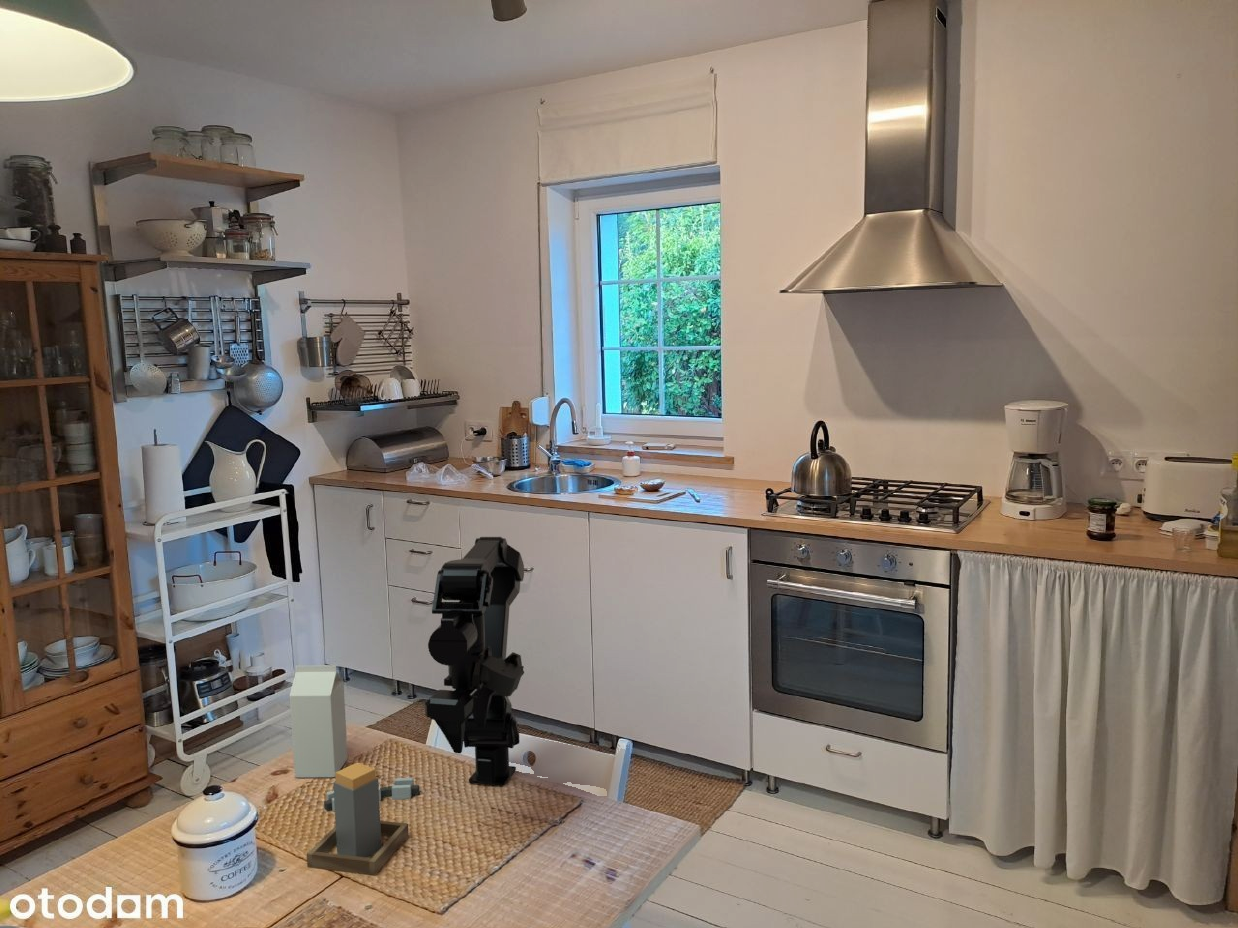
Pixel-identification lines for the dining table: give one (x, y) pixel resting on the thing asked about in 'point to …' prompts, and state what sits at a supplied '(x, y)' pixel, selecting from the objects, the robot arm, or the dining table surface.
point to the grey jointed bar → (385, 792)
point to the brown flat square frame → (352, 863)
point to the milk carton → (318, 721)
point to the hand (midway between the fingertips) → (469, 739)
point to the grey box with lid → (357, 811)
